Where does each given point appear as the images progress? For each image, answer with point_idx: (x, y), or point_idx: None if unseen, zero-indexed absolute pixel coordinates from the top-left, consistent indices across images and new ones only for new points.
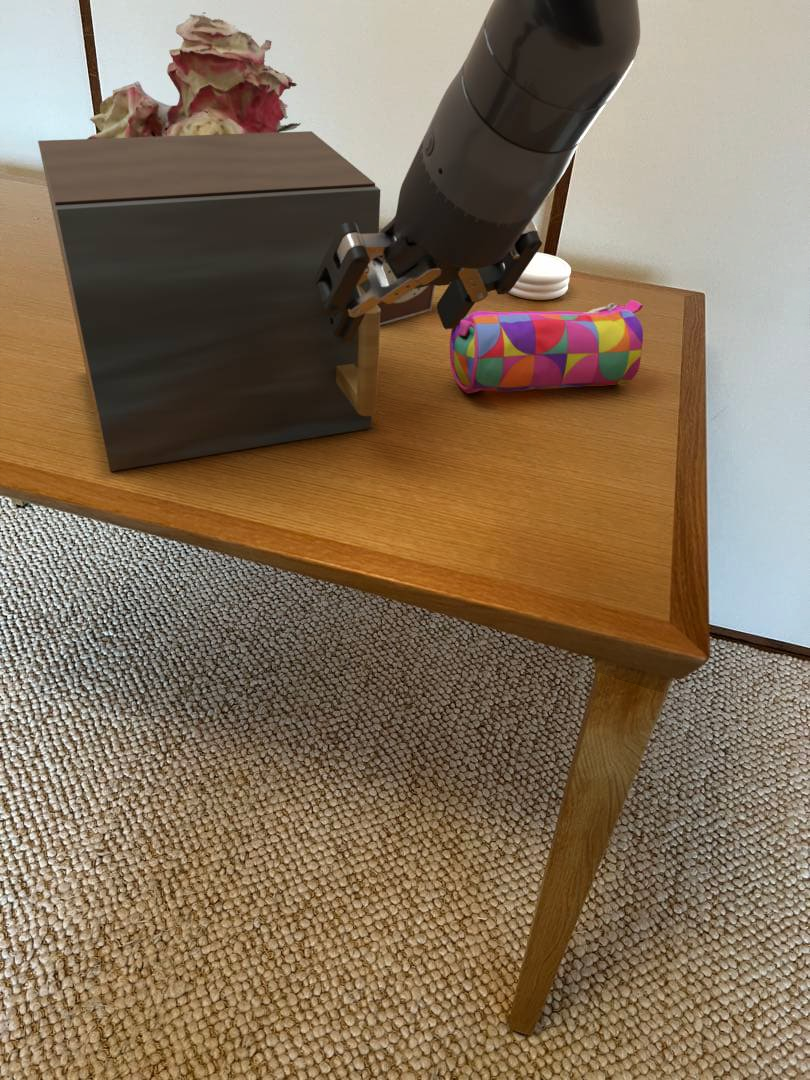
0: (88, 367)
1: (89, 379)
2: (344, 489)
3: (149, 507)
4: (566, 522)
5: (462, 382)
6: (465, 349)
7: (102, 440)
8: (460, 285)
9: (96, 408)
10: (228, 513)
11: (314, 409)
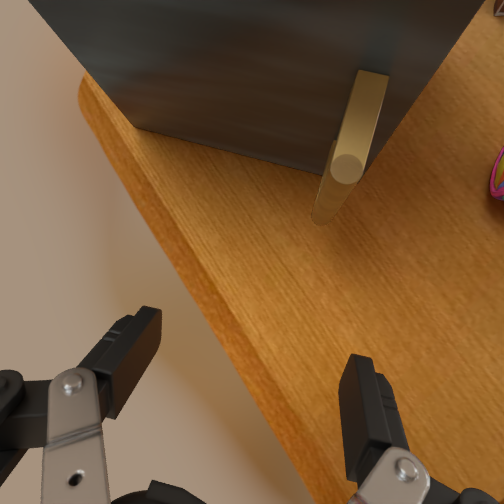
0: None
1: None
2: (276, 250)
3: (135, 183)
4: (421, 413)
5: (496, 173)
6: None
7: None
8: (366, 456)
9: None
10: (179, 224)
11: (303, 156)
